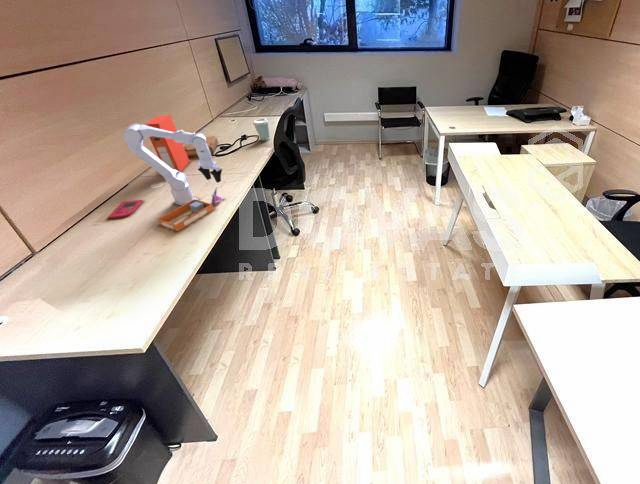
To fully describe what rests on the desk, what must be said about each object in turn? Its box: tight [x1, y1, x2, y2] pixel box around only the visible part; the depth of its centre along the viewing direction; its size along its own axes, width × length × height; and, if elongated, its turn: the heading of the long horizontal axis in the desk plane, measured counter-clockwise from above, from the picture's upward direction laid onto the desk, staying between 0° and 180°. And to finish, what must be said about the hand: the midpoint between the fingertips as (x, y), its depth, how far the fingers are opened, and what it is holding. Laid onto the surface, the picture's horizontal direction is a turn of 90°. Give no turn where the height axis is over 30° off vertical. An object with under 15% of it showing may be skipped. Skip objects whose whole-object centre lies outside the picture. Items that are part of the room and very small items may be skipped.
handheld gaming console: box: [107, 199, 143, 220], centre depth 164 cm, size 10×1×15 cm
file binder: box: [143, 114, 190, 173], centre depth 197 cm, size 8×17×32 cm, turn 12°
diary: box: [183, 135, 219, 158], centre depth 229 cm, size 23×19×6 cm
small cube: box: [189, 201, 205, 213], centre depth 161 cm, size 5×4×4 cm
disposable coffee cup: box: [253, 118, 270, 141], centre depth 244 cm, size 11×11×15 cm
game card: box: [211, 186, 224, 207], centre depth 169 cm, size 7×5×9 cm
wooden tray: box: [157, 199, 215, 232], centre depth 157 cm, size 13×20×4 cm, turn 156°
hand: (213, 180), depth 170 cm, fingers open, 7 cm apart
